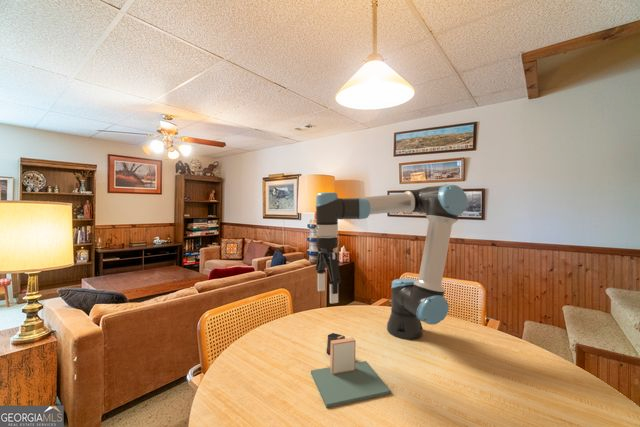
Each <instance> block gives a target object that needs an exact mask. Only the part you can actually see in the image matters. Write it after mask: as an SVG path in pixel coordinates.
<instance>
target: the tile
mask: <svg viewBox="0 0 640 427" xmlns="http://www.w3.org/2000/svg"><path fill="white" fill-rule="evenodd" d="M356 345H357V344H356V339H355V338H354V337H348V338H346V337H345V339H339V340H332V341H331V348H330V354H329V356H330V362H329V363H330V366H329V367H330V371H331V373H332V374H338V373H343V372H349V371H354V370H355V363H356Z"/></svg>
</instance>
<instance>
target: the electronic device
mask: <svg viewBox="0 0 640 427" xmlns="http://www.w3.org/2000/svg"><path fill="white" fill-rule="evenodd" d="M339 339H346V336H345V335H343V334H339V333H334V332H331V333H329V334H327V341H326V342H327V344H326V354H327V355H330V348H331V341H332V340H339Z"/></svg>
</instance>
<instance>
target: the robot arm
mask: <svg viewBox="0 0 640 427" xmlns="http://www.w3.org/2000/svg"><path fill="white" fill-rule="evenodd" d="M315 200H316V201H315V209H316V210H315V214H316V216H315V218H316V221H315V223H316V227H315V228H314V230H315V231H316V233H315V234H316V243H315V244H316V245H315V247H316V248H317V257H316V264H315V270H316V272H317V292H323V291H325V292H326V268H327V272H328V276H329V277H328V278H329V282H328V285H329V304H337V303H339V284H341V283H342V279H341V272H340V268H339V267H340V266H339V261H338V259H339V258H338V253H337V252H334V249H337V248H338V245H339V244H338V243H339V241H338V239H339V238H338V237H337V236H338V235H339V226H338V225H339V223H338V220H362V219H363V220H365V219H368V218H369V217H370V215H379V214H391V213H399V212H405V213H408V214H412V213H416V214H417V213H418V214H419V213H421V214H425V217H426V218H427V219H428V225H427V230H426V236H425V242H424V247H423V251H422V257H421V262H420V268H419V273H418V278H417V279H416V278H415V279H414V278H397V279H393V280H392V281H391V287H390V288H391V307H390V308H391V310H390V311H391V312H390V315H389V317H388V321H387V323H386V330H387V332H388V333H389V334H391V336H395V337H396V338H399V339H404V340H405V339H406V340H416V339H417V340H418V339H419V338H421V337H422V336H423V332H424V331H423V330H424V328H423V325H422V323H425V324H427V325H431V326H432V325H437V324H439V323H441V322H442V321H444V319H446V317H447V316H448V313H449V307H450V305H449V302H448V300H447V298H445V293H446V292H445V289H444V287H443V286H442V284H443V283H442V282H443V279H444V271H445V267H446V262H447V261H446V260H447V257H448V256H447V255H448V250H449V246H450V240H451V239H450V238H451V234H452V228H453V225H454V224H455V223H457V222H458V218H459V215H462V214H463V213H464V212H466V210H467V208H468V204H469V203H468V197H467V194H466V192H465V191H464V190H463V188H462V187H460V186H459V185H456V184H448V183H447V184H443V185H434V186H426V187H422V188H417V189H413V190H406V191H404V193H396V194H386V195H374V196H362V197H353V198H351V197H350V198H349V197H348V198H339V196H338V193H337V192H331V191H330V192H328V191H327V192H319V193H317V194H316V199H315Z"/></svg>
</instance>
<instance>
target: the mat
mask: <svg viewBox="0 0 640 427" xmlns="http://www.w3.org/2000/svg"><path fill="white" fill-rule="evenodd" d="M310 375H311V378H312V379H313V381H314V383H315V385H316V388H317V390H318V392H319V395H320V398H321V399H322V401H323V403H324V406H325V408H326V409H328V408H332V407H337V406H341V405H347V404H351V403H355V402H360V401H365V400H369V399H374V398H378V397H383V396H387V395H391V394H392V390H391V389H390V387H389V386H388V385H387V384H386V382H384V380H383V379H382V378H381V377H380V376H379V374H378V372H376V371H375V370H374V369H373V367H372V366H371V365H370V364H369V363H368V362H367V360H362V361H357V362H355V370H354V371H349V372H343V373H338V374H332V373H331V371H330V366H328V367H323V368H316V369H311V370H310Z"/></svg>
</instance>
